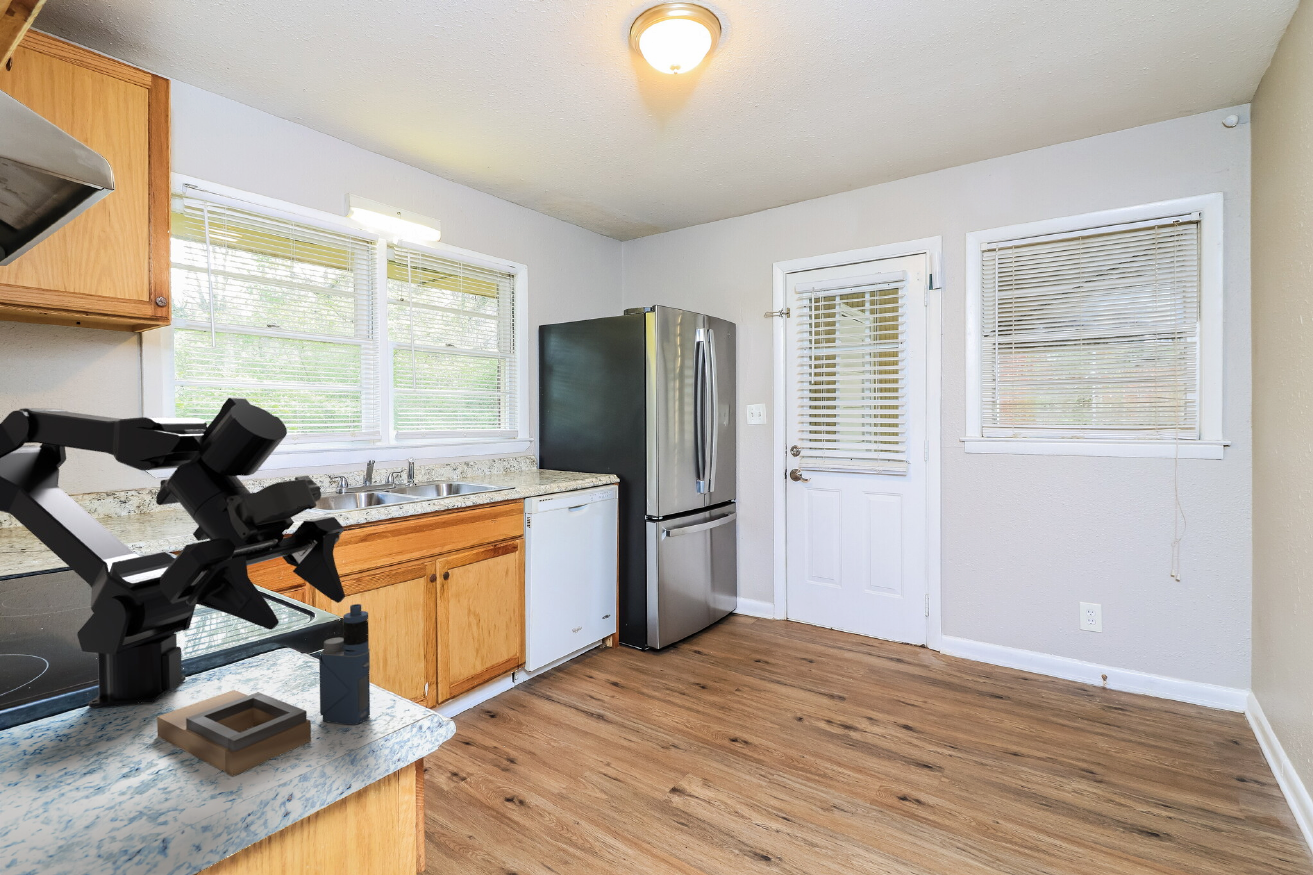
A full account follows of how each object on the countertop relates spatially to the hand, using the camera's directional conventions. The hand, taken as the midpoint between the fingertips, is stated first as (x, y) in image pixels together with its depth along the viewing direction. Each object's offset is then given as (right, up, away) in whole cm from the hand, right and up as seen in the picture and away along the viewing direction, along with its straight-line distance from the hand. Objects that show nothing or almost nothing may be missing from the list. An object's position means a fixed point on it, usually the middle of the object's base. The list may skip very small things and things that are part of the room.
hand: (310, 612), depth 66 cm
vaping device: (+4, -11, -1) cm, 12 cm away
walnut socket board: (-5, -11, -5) cm, 13 cm away
